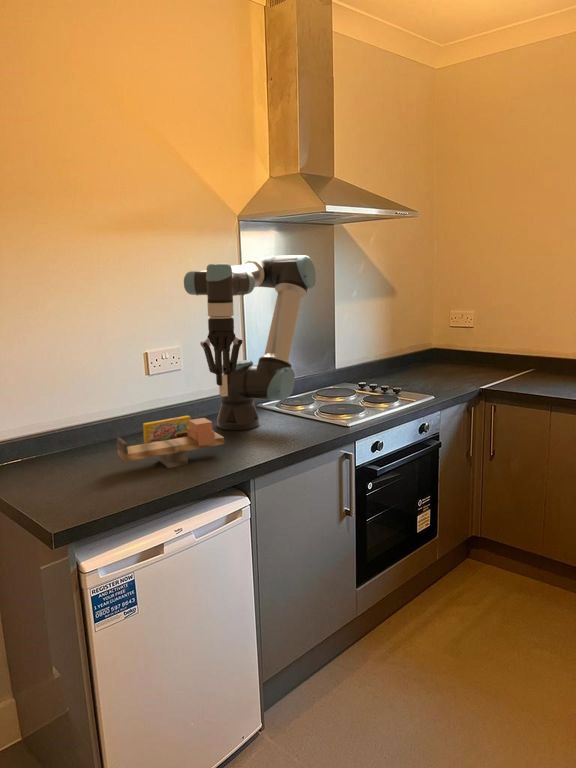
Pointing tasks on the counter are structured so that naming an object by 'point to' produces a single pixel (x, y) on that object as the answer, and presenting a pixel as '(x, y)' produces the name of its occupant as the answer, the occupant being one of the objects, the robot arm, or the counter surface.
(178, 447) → the beam
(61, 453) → the counter surface
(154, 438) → the candy box
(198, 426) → the block
